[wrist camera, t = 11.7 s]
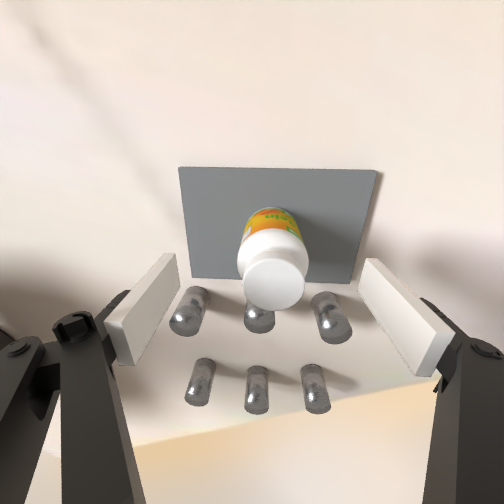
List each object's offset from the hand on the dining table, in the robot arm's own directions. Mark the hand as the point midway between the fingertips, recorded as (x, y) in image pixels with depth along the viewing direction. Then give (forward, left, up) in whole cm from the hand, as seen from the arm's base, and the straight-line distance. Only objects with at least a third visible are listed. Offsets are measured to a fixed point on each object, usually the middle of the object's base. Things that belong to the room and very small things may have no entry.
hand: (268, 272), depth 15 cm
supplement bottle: (0, 0, -8) cm, 8 cm away
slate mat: (0, 0, -9) cm, 9 cm away
